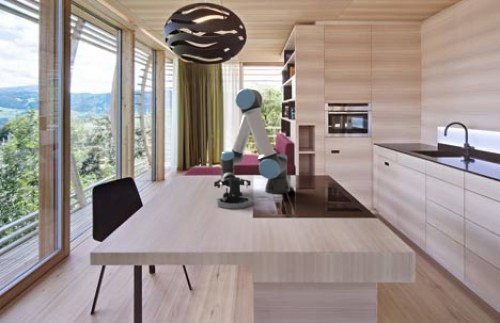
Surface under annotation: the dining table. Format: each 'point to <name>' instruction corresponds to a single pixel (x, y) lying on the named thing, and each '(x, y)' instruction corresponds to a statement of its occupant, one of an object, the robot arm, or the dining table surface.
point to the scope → (233, 191)
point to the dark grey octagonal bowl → (242, 203)
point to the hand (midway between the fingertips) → (234, 186)
